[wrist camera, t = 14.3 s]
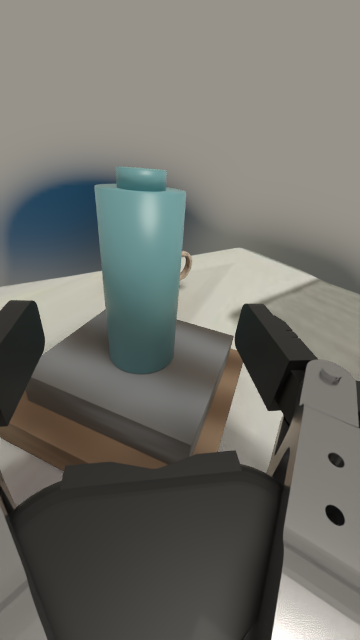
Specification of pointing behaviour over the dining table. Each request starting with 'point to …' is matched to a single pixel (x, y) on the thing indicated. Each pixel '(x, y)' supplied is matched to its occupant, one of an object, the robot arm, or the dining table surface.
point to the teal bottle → (140, 266)
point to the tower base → (126, 401)
